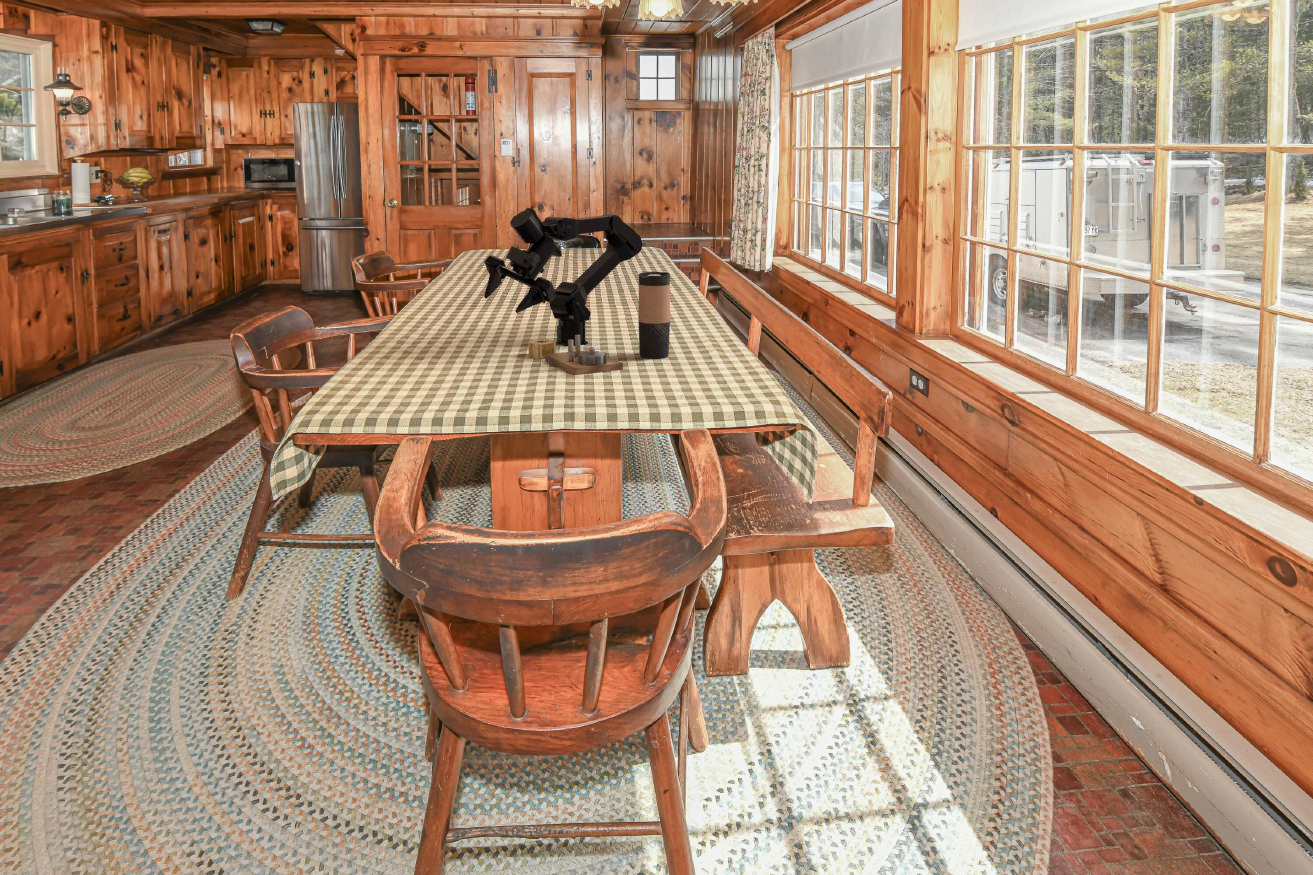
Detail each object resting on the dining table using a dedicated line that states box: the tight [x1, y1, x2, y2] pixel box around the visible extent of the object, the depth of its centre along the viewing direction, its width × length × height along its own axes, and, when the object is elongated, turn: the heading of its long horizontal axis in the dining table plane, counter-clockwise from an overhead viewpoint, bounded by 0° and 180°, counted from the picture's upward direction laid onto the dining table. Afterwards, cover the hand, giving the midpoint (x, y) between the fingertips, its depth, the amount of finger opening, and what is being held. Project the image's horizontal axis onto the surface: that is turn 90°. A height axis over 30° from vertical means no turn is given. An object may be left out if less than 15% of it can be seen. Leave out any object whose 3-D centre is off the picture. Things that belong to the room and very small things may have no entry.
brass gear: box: [527, 338, 557, 360], centre depth 233 cm, size 7×7×4 cm
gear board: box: [544, 335, 624, 376], centre depth 223 cm, size 12×17×6 cm
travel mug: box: [637, 271, 671, 360], centre depth 231 cm, size 8×8×20 cm
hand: (500, 304), depth 229 cm, fingers open, 9 cm apart
